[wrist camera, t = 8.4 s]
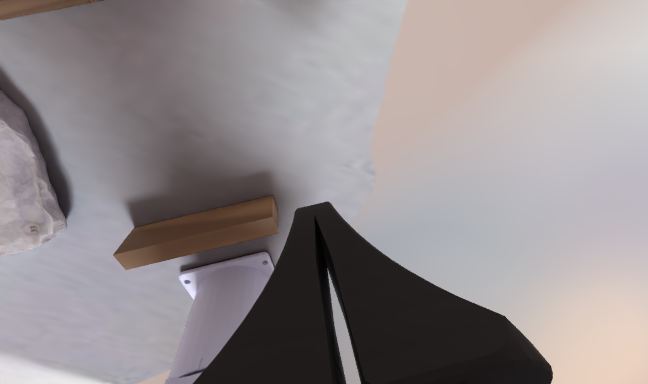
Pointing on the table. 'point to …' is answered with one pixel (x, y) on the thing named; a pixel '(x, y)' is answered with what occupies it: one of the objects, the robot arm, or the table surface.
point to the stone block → (24, 186)
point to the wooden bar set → (182, 231)
